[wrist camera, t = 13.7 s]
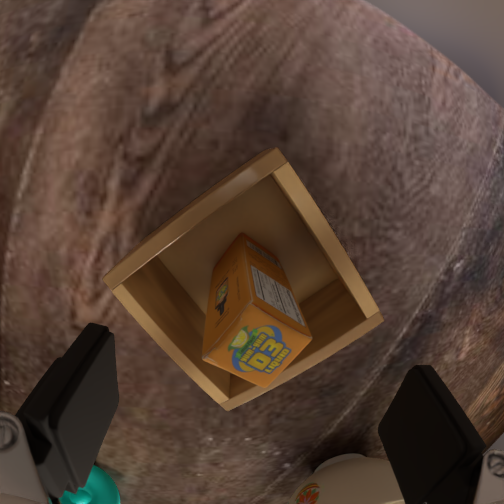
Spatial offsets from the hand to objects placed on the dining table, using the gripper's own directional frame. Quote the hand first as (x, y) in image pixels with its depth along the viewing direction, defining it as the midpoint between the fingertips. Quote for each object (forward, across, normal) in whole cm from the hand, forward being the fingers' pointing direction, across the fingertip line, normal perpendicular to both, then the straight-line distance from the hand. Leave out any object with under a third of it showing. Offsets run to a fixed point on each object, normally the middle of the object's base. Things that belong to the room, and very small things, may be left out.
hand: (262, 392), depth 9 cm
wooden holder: (+14, 0, +1) cm, 14 cm away
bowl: (+14, -14, +24) cm, 31 cm away
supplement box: (+13, 0, +1) cm, 13 cm away
